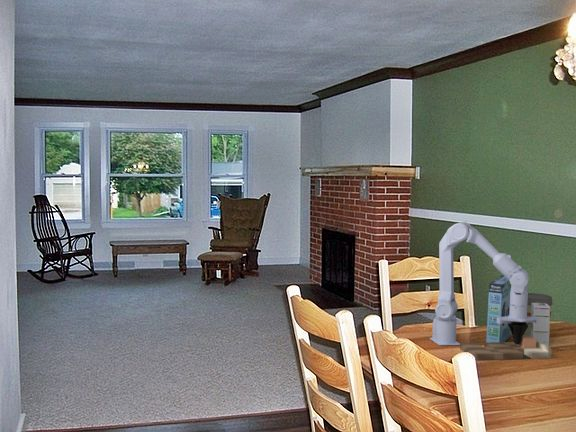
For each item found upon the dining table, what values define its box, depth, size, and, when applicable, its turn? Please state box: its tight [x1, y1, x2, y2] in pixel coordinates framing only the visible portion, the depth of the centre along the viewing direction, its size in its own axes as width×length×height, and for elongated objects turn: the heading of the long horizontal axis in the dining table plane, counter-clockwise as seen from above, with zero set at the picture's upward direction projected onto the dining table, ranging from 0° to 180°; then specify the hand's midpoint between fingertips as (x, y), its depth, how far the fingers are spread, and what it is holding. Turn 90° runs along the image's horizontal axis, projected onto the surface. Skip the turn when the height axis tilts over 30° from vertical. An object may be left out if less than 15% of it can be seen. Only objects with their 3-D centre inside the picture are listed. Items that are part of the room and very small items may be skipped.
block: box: [519, 335, 536, 348], centre depth 219 cm, size 4×4×3 cm
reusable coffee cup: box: [523, 292, 553, 336], centre depth 243 cm, size 13×13×15 cm
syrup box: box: [530, 303, 551, 347], centre depth 230 cm, size 6×6×14 cm
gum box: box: [485, 275, 512, 343], centre depth 232 cm, size 20×5×23 cm, turn 149°
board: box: [459, 341, 552, 361], centre depth 216 cm, size 14×26×4 cm, turn 98°
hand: (516, 343), depth 219 cm, fingers closed
